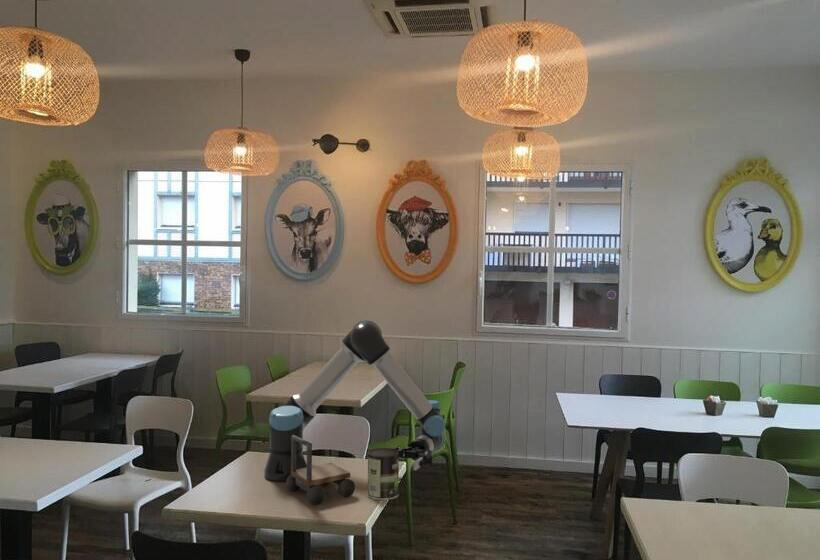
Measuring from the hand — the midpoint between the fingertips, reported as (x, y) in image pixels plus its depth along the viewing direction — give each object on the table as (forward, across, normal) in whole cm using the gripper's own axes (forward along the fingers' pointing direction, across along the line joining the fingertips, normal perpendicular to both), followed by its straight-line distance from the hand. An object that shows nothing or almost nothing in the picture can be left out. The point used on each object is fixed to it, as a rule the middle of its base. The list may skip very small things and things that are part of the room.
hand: (395, 463), depth 216 cm
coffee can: (+9, 0, -8) cm, 12 cm away
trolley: (+17, +20, -8) cm, 27 cm away
